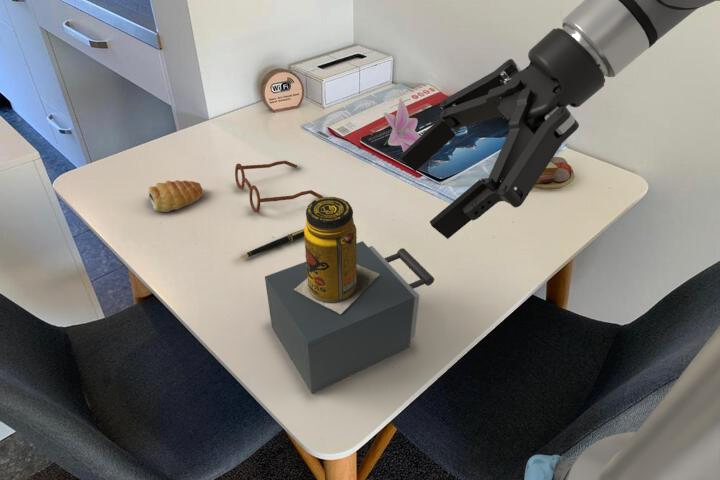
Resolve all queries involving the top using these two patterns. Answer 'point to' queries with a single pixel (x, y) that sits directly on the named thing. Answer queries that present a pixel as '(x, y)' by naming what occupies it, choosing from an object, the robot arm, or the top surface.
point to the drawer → (416, 268)
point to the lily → (402, 128)
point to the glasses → (244, 180)
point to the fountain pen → (276, 243)
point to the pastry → (174, 194)
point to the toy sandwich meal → (555, 175)
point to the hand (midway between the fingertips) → (421, 194)
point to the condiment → (332, 255)
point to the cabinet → (340, 323)
